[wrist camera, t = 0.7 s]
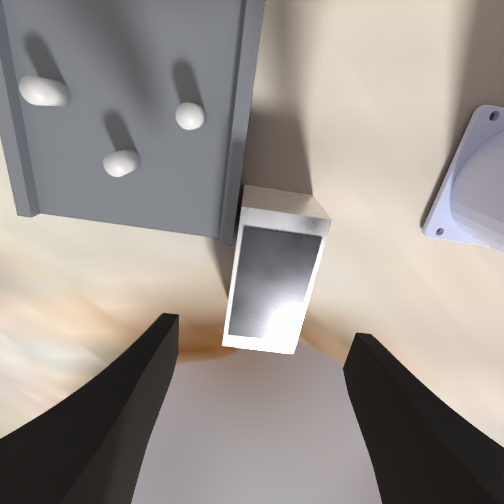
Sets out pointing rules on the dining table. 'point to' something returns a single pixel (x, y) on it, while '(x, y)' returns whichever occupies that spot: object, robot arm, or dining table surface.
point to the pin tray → (129, 109)
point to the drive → (273, 268)
